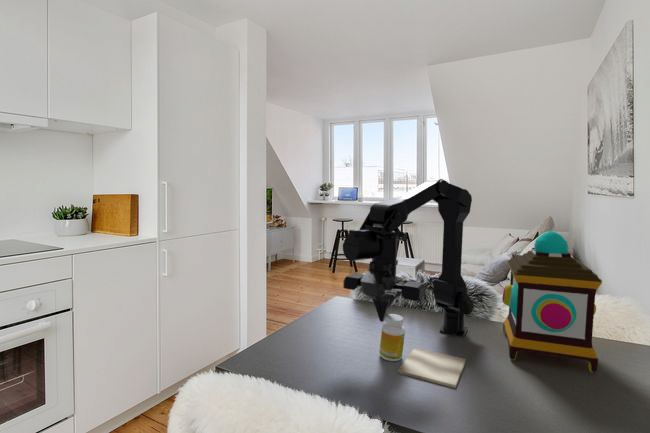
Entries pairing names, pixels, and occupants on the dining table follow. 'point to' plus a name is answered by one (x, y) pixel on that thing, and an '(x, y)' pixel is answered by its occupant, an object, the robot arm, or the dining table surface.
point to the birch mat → (433, 367)
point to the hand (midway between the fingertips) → (382, 321)
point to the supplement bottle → (392, 338)
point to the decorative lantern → (551, 302)
